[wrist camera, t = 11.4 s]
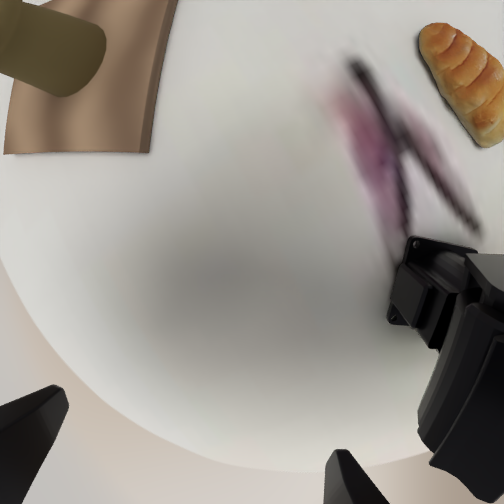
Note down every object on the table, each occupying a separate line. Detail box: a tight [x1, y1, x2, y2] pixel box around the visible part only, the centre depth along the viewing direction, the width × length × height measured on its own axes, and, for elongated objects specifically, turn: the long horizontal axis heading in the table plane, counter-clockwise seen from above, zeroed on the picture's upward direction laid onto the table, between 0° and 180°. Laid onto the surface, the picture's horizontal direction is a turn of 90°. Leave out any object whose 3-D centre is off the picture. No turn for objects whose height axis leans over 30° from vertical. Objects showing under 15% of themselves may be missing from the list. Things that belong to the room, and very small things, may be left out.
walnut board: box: [3, 0, 178, 155], centre depth 16 cm, size 14×14×2 cm
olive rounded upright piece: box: [0, 0, 107, 97], centre depth 10 cm, size 6×6×11 cm
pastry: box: [419, 23, 504, 148], centre depth 13 cm, size 9×7×4 cm
